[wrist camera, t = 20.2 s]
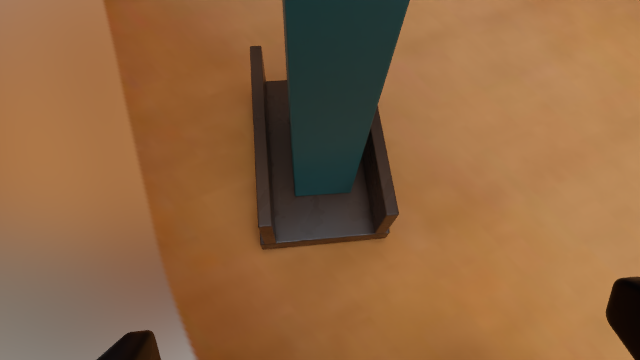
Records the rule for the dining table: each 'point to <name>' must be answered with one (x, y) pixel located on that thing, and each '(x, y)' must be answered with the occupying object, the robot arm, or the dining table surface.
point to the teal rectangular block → (335, 84)
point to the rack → (312, 210)
